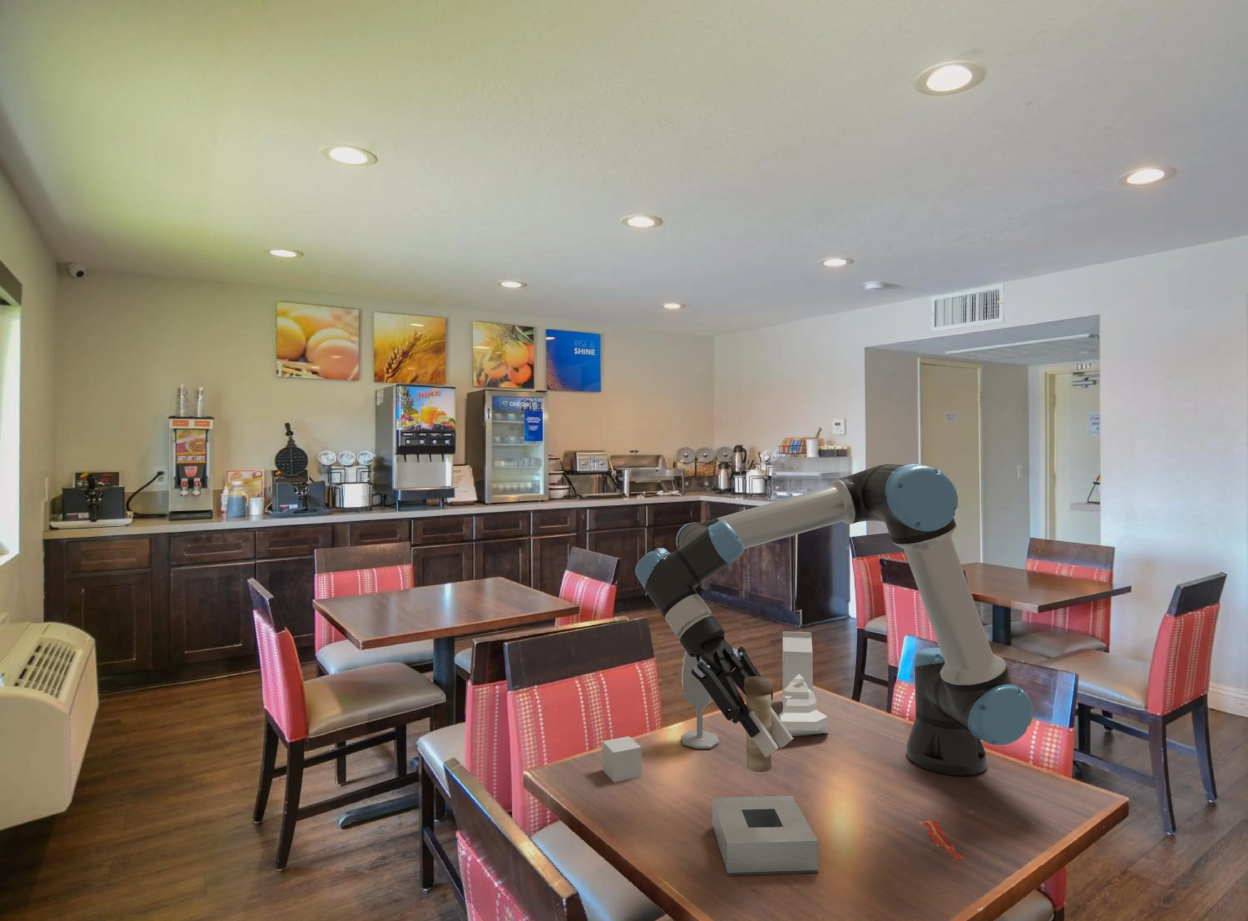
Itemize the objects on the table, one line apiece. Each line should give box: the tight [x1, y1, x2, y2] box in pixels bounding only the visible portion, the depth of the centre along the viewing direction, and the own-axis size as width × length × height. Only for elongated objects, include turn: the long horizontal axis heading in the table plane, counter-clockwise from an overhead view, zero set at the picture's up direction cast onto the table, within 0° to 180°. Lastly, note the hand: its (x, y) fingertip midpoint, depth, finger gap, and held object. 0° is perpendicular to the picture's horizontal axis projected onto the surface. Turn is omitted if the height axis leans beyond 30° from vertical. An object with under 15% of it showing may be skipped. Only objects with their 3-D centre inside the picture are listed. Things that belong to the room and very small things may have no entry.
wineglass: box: [680, 649, 720, 750], centre depth 154 cm, size 9×9×21 cm
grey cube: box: [601, 735, 642, 783], centre depth 139 cm, size 6×6×6 cm
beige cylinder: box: [744, 676, 774, 773], centre depth 112 cm, size 5×5×14 cm
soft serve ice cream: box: [778, 674, 829, 737], centre depth 159 cm, size 12×15×14 cm
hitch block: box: [711, 795, 819, 877], centre depth 112 cm, size 14×14×5 cm
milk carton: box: [781, 631, 814, 692], centre depth 175 cm, size 7×7×19 cm
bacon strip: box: [922, 811, 967, 862], centre depth 116 cm, size 4×15×1 cm, turn 0°
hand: (779, 747), depth 109 cm, fingers closed on beige cylinder, 4 cm apart
